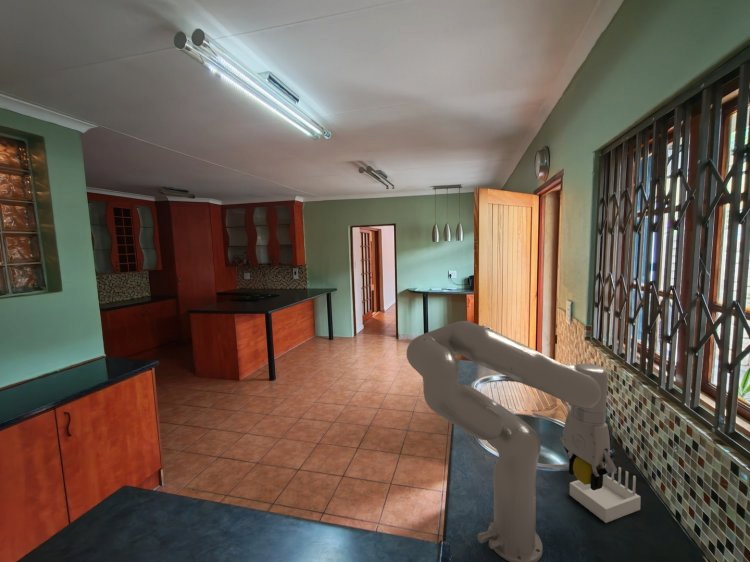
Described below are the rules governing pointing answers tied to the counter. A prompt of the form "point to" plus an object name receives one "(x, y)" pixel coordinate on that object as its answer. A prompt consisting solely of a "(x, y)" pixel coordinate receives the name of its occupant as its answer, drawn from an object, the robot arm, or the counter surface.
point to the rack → (607, 497)
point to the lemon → (582, 470)
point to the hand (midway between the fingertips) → (584, 479)
